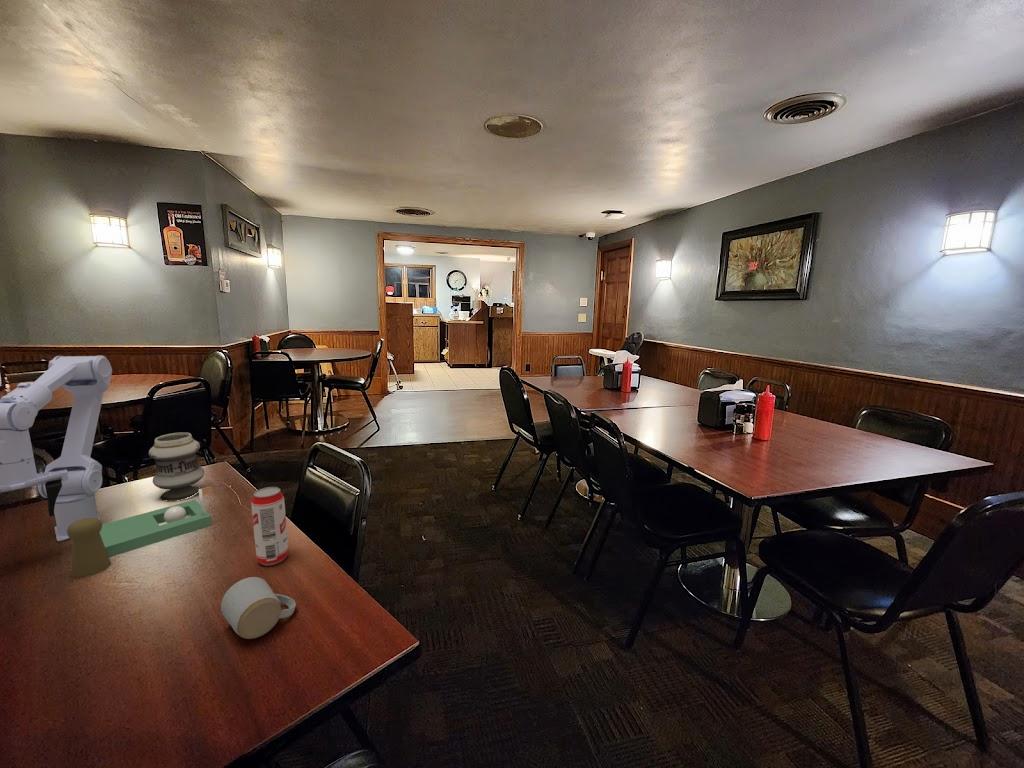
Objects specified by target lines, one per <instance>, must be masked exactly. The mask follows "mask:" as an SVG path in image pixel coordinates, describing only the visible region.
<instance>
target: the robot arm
mask: <svg viewBox="0 0 1024 768" xmlns="http://www.w3.org/2000/svg"><path fill="white" fill-rule="evenodd" d="M112 374H113V368H112V365H111V362H110V361H109V360H108V358H107V357H106V356H104V355H88V356H87V355H86V356H84V355H82V356H81V355H79V356H78V355H77V356H75V355H74V356H71V355H70V356H69V355H68V356H67V355H66V356H64V355H57V356H55V357H53V358H52V359H51V360H49V361H48V369H47V370H46V371H44V372H43V374H41V375H40V376H39V377H38V378H37V379H36V380H35V381H34V382H33V381H28V382H27V381H26V382H20V383H18V384H17V385H16V388H14V389H13V390H11V391H10V392H9V393H7V394H6V395H4V396H2V397H1V398H0V494H1V493H5V492H11V491H16V490H20V489H25V488H31V487H35V486H37V490H38V492H39V494H40V495H41V497H43V498H45V499H47V510H48V515H49V516H48V517H55V518H54V519H55V522H56V523H55V524H56V526H54V533H55V535H56V536H55V537H56V541H57V542H63V541H65V540H71V539H70V538H69V536H68V534H67V529H68V527H69V525H71V524H72V523H73V522H76V521H78V520H81V519H85V518H98V519H99V520H100V521H101V517H100V516H99V514H98V507H97V502H96V496H95V494H96V493H98V492H99V490H100V488H101V487H102V485H103V475H102V474H103V473H102V472H103V466H102V464H101V462H98V460H96V459H94V458H92V457H91V455H92V451H93V446H94V441H95V437H96V436H95V435H96V433H97V432H96V431H97V427H98V422H99V418H100V417H99V416H100V412H101V408H102V403H103V398H104V392H107V391H108V390H109V388H110V384H111V378H112ZM59 388H63V390H64V391H66V392H69V393H70V394H73V396H74V398H73V403H72V407H71V410H70V415H69V418H68V424H67V428H66V433H65V437H64V442H63V444H62V445H63V446H62V450H61V454H60V456H59V457H58V458H56V459H54V460H53V461H51V462H50V463H48V464H47V465H46V466H45V470H44V472H39V473H37V468H36V462H35V457H34V456H35V455H34V452H33V445H32V441H31V436H30V431H29V429H30V428H32V427H33V425H34V422H35V419H36V417H37V416H38V413H39V411H40V410H41V409H43V408H44V407H45V406H47V404H49V403H50V402H51V401H52V399H53V392H54V391H57V390H58V389H59ZM101 522H102V521H101Z"/></svg>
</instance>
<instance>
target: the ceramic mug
mask: <svg viewBox="0 0 1024 768" xmlns="http://www.w3.org/2000/svg"><path fill="white" fill-rule="evenodd" d="M282 605H285V606H287V607H288V608H286V609H282ZM296 607H297V604H296V601H295V599H293V598H292V597H290V596H287V595H284V594H278V593H274V591H273V590H272V588H271V587H270V585H269V584H268V583H267V582H266V580H265V579H263V578H261V577H259V576H258V577H257V576H250V577H246V578H243V579H241V580H239V581H237V582H235V583H234V584H233V585H232V586H230V587H229V588H228V589H227V591H226V592H225V594H224V595H223V597H222V599H221V601H220V610H221V613H222V615H223V617H224V618H225V620H226V621H227V623H228V624H229V625H230V626H231V628H232V629H233V631H234V632H235V634H237V635H238V636H239V637H240V638H243V639H246V640H254V639H257V638H260V637H262V636H265V634H267V633H268V632H269V631H271V630H272V629H273V628H274V627H275V626H276V624H277V623H278V621H279V619H285V618H288V617H291V616H292V615H293V614H294V613H295V609H296Z"/></svg>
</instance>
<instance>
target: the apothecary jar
mask: <svg viewBox="0 0 1024 768" xmlns="http://www.w3.org/2000/svg"><path fill="white" fill-rule="evenodd" d="M200 449H201V445H200V442H199V441H197V440H196V439H194V438H193V436H192V434H191V433H190V432H187V431H186V432H180V431H179V432H173V433H167V434H164V435H162V434H161V435H160V436H158V437H155V439H154V443H153V445H152V447H150V449H149V451H148V456H149V457H150V458H151V459H153V460H155V461H154V463H155V468H156V473H155V474H154V476H153V478H152V484H153V485H154V486H155V487H156V488H158V489H161V490H166V491H165V492H163V493H162V494H161V495H160V496H159V499H160V501H166V500H167V501H166V502H169V501H171V502H178V501H177V500H180V501H182V500H181V499H185V498H187V497H190V496H192V495H194V494H195V493H197V492H198V491H199V490H198V489H200V488H201V487H200V486H198V487H197V485H195V484H196V483H198V482H199V481H201V480H202V478H203V477H204V475H205V469H204V468H203V467H202V466H201V465H199V463H198V457H197V452H199V450H200ZM199 487H200V488H199ZM185 500H186V499H185Z"/></svg>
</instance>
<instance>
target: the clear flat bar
mask: <svg viewBox="0 0 1024 768" xmlns="http://www.w3.org/2000/svg"><path fill="white" fill-rule="evenodd" d="M198 490H199V494H198V496H199V504H200V506H201V515H202V516H203V515H205V511H204V509H205V504H204V497H203V496H204V495H207V494H210V493H213V488H212V486H207V487H203V488H201V489H198Z"/></svg>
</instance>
